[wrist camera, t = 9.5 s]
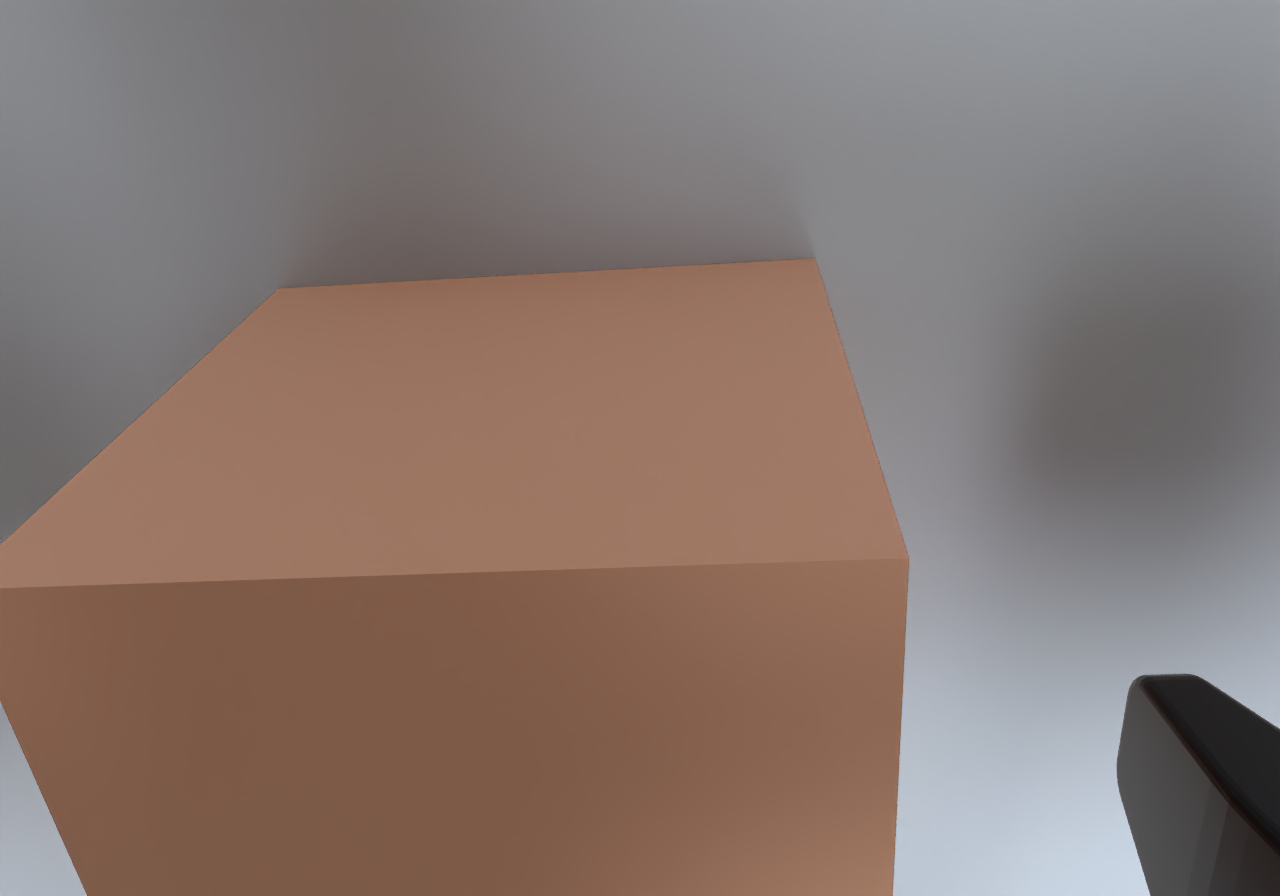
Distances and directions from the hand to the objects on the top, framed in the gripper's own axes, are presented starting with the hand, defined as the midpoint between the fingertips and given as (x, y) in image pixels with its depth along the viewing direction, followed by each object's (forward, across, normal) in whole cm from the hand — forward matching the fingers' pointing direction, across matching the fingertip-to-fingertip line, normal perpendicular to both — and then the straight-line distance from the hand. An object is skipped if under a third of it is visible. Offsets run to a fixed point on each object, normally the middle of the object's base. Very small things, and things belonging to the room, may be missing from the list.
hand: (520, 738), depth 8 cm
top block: (+3, 0, 0) cm, 3 cm away
